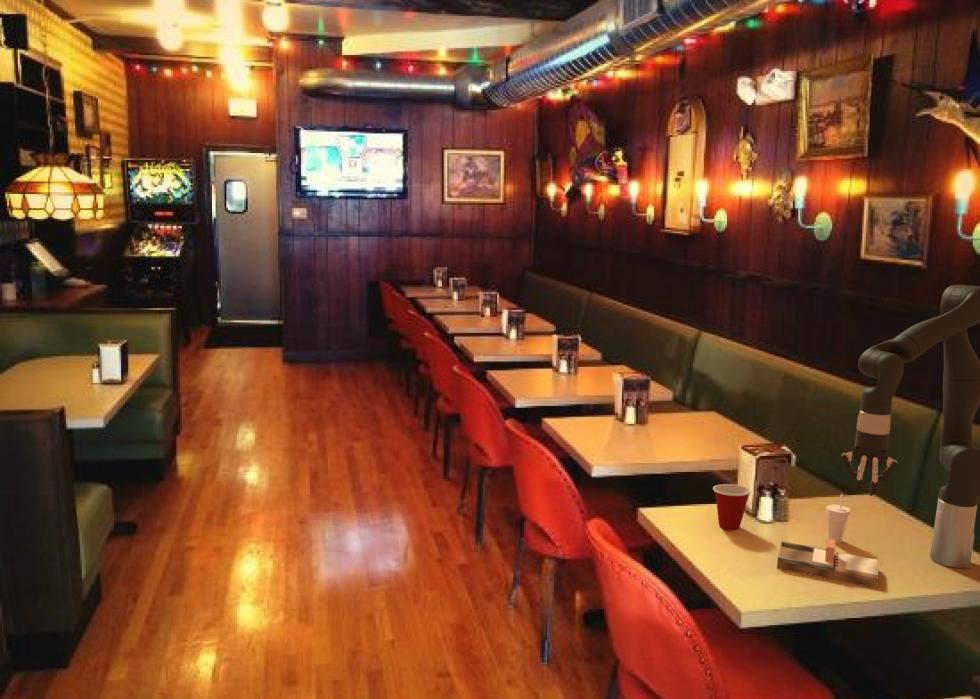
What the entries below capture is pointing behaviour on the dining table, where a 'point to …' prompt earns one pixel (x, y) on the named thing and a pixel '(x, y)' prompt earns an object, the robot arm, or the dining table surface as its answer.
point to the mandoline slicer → (842, 569)
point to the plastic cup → (731, 504)
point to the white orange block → (825, 554)
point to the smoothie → (837, 520)
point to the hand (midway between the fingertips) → (865, 493)
